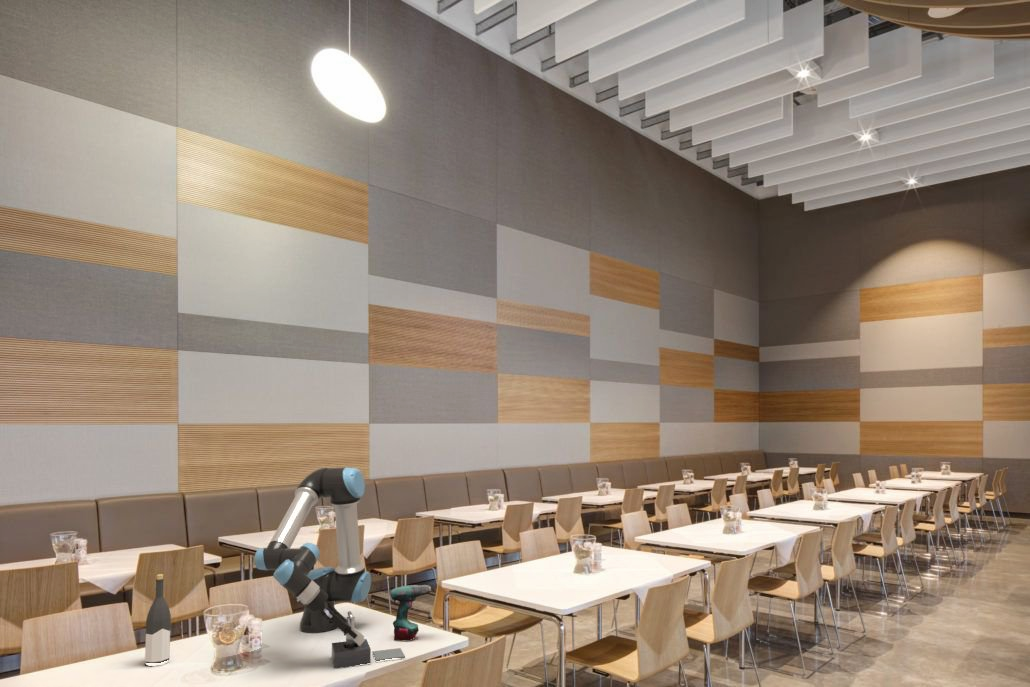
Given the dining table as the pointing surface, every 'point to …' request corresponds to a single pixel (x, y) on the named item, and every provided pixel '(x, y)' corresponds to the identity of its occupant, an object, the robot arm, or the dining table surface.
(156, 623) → the wine bottle
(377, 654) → the mat
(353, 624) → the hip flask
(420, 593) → the power drill
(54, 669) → the dining table surface
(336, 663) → the chuck block
